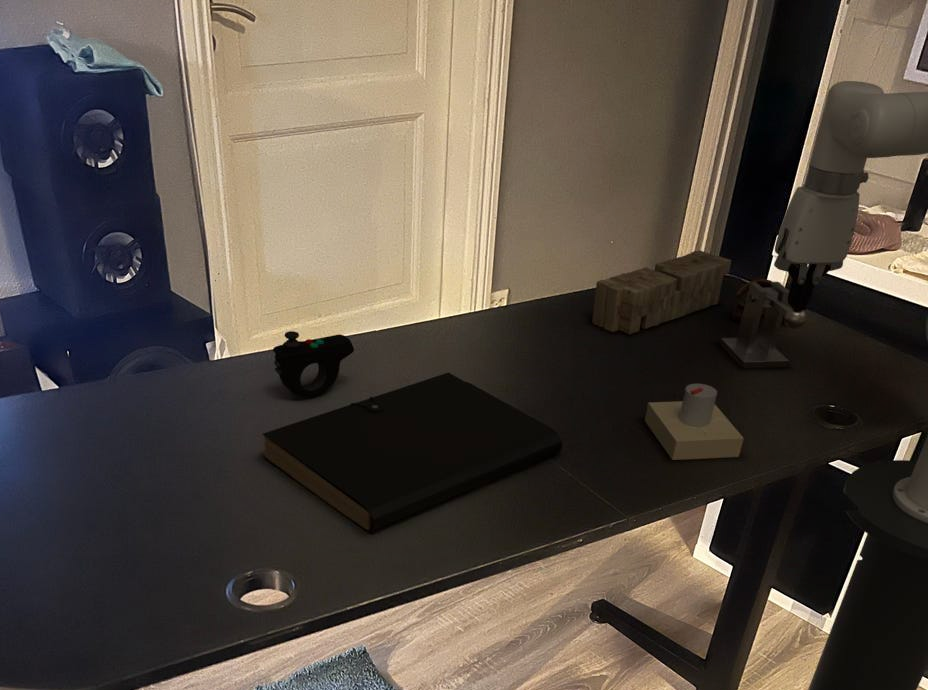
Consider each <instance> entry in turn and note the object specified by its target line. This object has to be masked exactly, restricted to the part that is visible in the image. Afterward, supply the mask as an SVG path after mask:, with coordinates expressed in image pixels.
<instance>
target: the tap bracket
mask: <svg viewBox="0 0 928 690" xmlns="http://www.w3.org/2000/svg"><path fill="white" fill-rule="evenodd" d="M750 282H751V281H750ZM772 282H773V285H772V288H773V289H774V290H776V291H777V292H778V293H779V294H778V300H779V301H781V302H782V303H783V304H785V305H786V304H788V295H789V291H790V289H788V288H787V287H785V286H784V285H783V284H781V282H779V281H772ZM766 294H767V291H766V290H765V289H763V288H762V287H761V286H760V285H759V284H757V283H756V282H751V283H750V287H749V291H747V296H746V300H745V302H744V303H745V307H744V311H743V316H742V318H741V321H740V325H739V328H738V333H737V336H736V337H721V338H720V341H719V346H720V347H721V348H722V349H723V350H724V351H725V352H726V353H727V354H728V356H730V358H732V359H733V360H734V362H735V363H737V365H738V366H739V367H741V369H768V368H769V369H770V368H772V369H773V368H787V367H788V364H789V359H788V358H787V357H785V356H784V355H783V354H782V352H780V351H779V350H778V348H776V345H777V342H778V337H779V334H780V330H781V326H782V322H783V315H782V314H781V313H780V312H778V311H777V310H776V309H774V308H773V307H772V308H766V312H765V316H764V317H763V320H762V323H761V328H760V331H759V336H757V333H758V330H759V325H760V322H761V318H762V316H761V314H762V310H763V306H764V302H765V298H766ZM786 306H787V305H786Z"/></svg>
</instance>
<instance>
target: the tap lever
mask: <svg viewBox="0 0 928 690" xmlns="http://www.w3.org/2000/svg"><path fill="white" fill-rule="evenodd" d="M763 289H765V290H766V291H767V294H766V298H765V302H764V306H763V308H772V307H773V308H774V309H776V310H777V311H778V312H780V313H781V314H782V315H784V316H785V317H784V321H785V324H786V325H785V326H786V327H788V328H790V329H795V330H796V329H798V328H801V327H802V326H803V325H804V324H805V322H806V321H807V320H806V319H807V314H806V312H805V310H801V309H800V310H795V309H793V308H792V307H790V306H789V305H785V304H783V303H782V302H781V301H779V300H778V294H779V293H778V292H777V291H776V290H774V289H773V288H763ZM784 321H783V322H784Z"/></svg>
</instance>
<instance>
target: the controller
mask: <svg viewBox="0 0 928 690" xmlns="http://www.w3.org/2000/svg"><path fill="white" fill-rule="evenodd" d="M284 337H285V338H286V339H287V340H286V341H284V342H283V343H282V344H278V345H276V346H274V347H273V348H272V350H273V353H274V361H273V364H274V366H275V368H274V371H275V372H276V373H277V374H278V376H279V379H280V381H281V383H282V384H283V386H284V387H285V388H286V389H287V390H289V391H290V392H291V393H292V394H294V395H295V396H298V397H301V398H309V399H310V398H315V397H318V396H321V395H323V394H324V393H327V391H329V389H331V387H332V386H333V385H334V384H335V383H336V381H337V379H338V377H339V373H340V366H341V361H343V360H344V359H346V358H347V357H348V356H350V355H352V354H353V353H354V351H355V348H354V345H353V343H352V340H351V339H350V338H349V337H347V336H346V335H344V334H339V333H338V334H333V335H328V336H324V337H323V336H322V337H319V338H313V339H311V338H309V339H305V340H298V338H299V337H300V334H299V332H297V331H293V330H289V331H286V332H285V333H284ZM313 364H317V367H318V371H317V374H316V376H315V378H314V379H313V380H312V381H311V382H309V383H306V384H302V381H301V378H302V374H303V372H304V371H305V369H306V368H307V367H309V366H311V365H313Z"/></svg>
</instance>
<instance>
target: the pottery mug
mask: <svg viewBox="0 0 928 690" xmlns="http://www.w3.org/2000/svg"><path fill="white" fill-rule="evenodd" d="M751 282H756V283H757V284H759V285H760V286H761V287H762V288H772V285H773V282H774V281H772V280H770V279H767V278H764V277H758V278H756V279H754V280H752V281H748V282H746V283H745V284H744V285H742V286H741V287H740V288H739V289H738V290H737V292H736V294H735V297H736V299H735V301H734V303H733V307H732V318H733V320H736V319H737V318H741V319H742V316H743V311H744V307H745V303H746V302H743V301H742V300H741V298H742V297H743V296H744V295H745V294H746V293H748V291H749V287H750V283H751ZM787 304H788V303H787ZM787 304H786V306H788V305H787ZM765 312H766V308H763V310H762V314H761V317H762V316H765ZM784 317H785V316H784V315H783V319H782V322H783V326H787V325H786V324H785V321H784Z"/></svg>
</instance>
